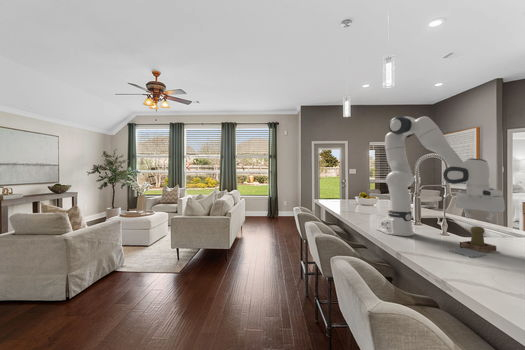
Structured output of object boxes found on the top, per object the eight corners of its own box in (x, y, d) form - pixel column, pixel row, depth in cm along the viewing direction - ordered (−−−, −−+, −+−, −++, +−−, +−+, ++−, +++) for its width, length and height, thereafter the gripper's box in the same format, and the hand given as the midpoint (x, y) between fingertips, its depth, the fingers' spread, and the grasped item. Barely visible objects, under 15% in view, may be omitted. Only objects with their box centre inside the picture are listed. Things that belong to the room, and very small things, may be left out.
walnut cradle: (459, 247, 130) (459, 242, 130) (473, 245, 132) (473, 240, 132) (481, 253, 120) (481, 247, 120) (496, 250, 123) (496, 245, 123)
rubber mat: (449, 250, 124) (449, 249, 124) (464, 248, 126) (464, 247, 126) (471, 257, 114) (471, 256, 114) (487, 255, 117) (487, 253, 117)
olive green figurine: (472, 246, 130) (472, 225, 130) (487, 249, 125) (487, 227, 125) (467, 248, 127) (467, 226, 127) (483, 251, 122) (483, 228, 122)
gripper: (452, 190, 135) (452, 216, 135) (497, 192, 115) (498, 223, 115) (460, 189, 136) (461, 215, 136) (506, 192, 117) (507, 222, 117)
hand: (478, 219), depth 126 cm, fingers open, 8 cm apart
